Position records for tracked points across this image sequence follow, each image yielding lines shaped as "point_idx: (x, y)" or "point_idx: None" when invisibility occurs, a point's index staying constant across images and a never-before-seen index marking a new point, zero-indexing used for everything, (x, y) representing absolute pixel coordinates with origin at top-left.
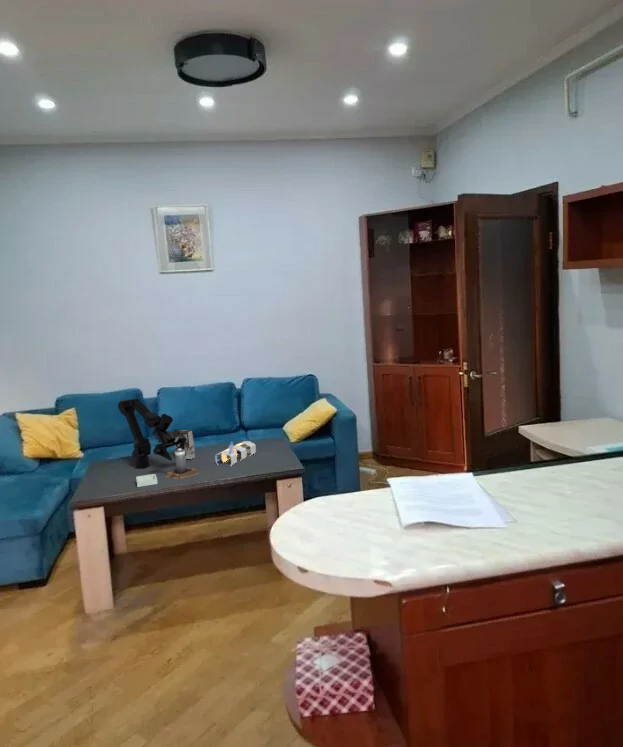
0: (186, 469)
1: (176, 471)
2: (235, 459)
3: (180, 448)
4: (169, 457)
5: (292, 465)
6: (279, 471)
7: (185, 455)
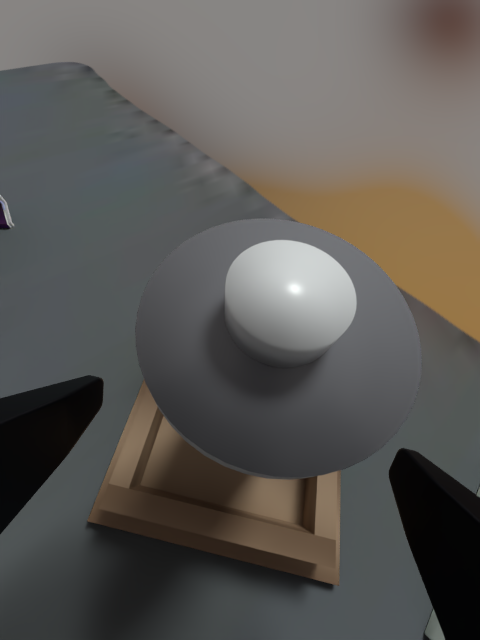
0: (154, 427)
1: (217, 508)
2: None
3: (240, 286)
4: (475, 499)
5: (28, 71)
6: (102, 82)
7: (102, 387)
